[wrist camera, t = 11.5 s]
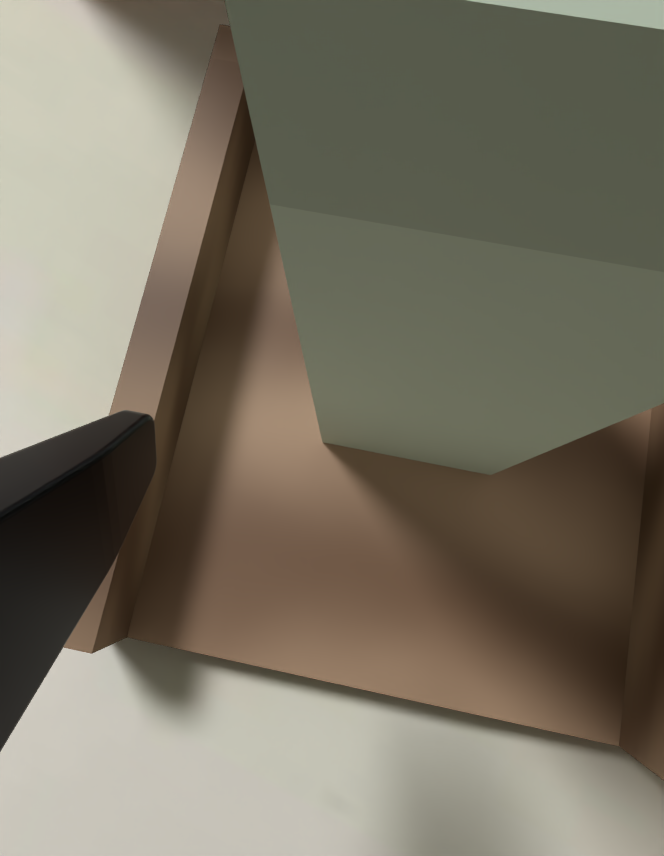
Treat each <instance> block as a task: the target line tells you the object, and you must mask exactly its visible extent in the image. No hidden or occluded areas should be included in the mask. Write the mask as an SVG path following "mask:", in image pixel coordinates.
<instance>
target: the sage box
mask: <svg viewBox="0 0 664 856" xmlns="http://www.w3.org/2000/svg"><path fill="white" fill-rule="evenodd" d="M225 5H226V9H227V14H228V18H229V23H230V27H231V32H232V36H233V41H234V45H235V50H236V54H237V59H238V63H239V68H240V73H241V77H242V82H243V86H244V91H245V95H246V100H247V104H248V109H249V113H250V118H251V122H252V127H253V131H254V136H255V140H256V145H257V149H258V154H259V158H260V163H261V167H262V172H263V176H264V181H265V185H266V190H267V194H268V199H269V204H270V208H271V213H272V217H273V222H274V226H275V231H276V235H277V240H278V244H279V249H280V253H281V258H282V262H283V267H284V271H285V276H286V280H287V285H288V289H289V294H290V298H291V303H292V307H293V312H294V316H295V321H296V325H297V330H298V334H299V339H300V344H301V348H302V353H303V357H304V362H305V366H306V371H307V375H308V380H309V384H310V389H311V393H312V398H313V402H314V407H315V411H316V416H317V420H318V425H319V429H320V434H321V438H322V442H324V443H329V444H334V445H339V446H344V447H349V448H355V449H360V450H365V451H370V452H375V453H380V454H385V455H390V456H395V457H401V458H406V459H411V460H416V461H421V462H426V463H431V464H436V465H441V466H446V467H452V468H457V469H462V470H467V471H472V472H477V473H482V474H487V475H492V474H495V473H497V472H499V471H502V470H504V469H507V468H509V467H511V466H514V465H516V464H519V463H521V462H524V461H526V460H528V459H531V458H533V457H536V456H538V455H540V454H543V453H545V452H548V451H550V450H552V449H555V448H557V447H560V446H562V445H564V444H567V443H569V442H572V441H574V440H576V439H579V438H581V437H584V436H586V435H588V434H591V433H593V432H596V431H598V430H600V429H603V428H605V427H608V426H610V425H612V424H615V423H617V422H620V421H622V420H624V419H627V418H629V417H632V416H634V415H636V414H639V413H641V412H644V411H646V410H649V409H651V408H653V407H656V406H658V405H661V404H663V403H664V0H225Z"/></svg>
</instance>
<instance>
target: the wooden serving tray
mask: <svg viewBox="0 0 664 856" xmlns="http://www.w3.org/2000/svg"><path fill="white" fill-rule="evenodd" d="M123 410H130V411H135V412H140V413H145V414H149V415H150V416H151V417H152V418H153V420H154V423H155V435H156V452H157V465H156V470H155V473H154V476H153V478H152V481H151V483H150V485H149V487H148V489H147V492H146V494H145V496H144V498H143V500H142V503H141V505H140V507H139V509H138V512H137V514H136V516H135V518H134V520H133V523H132V525H131V527H130V529H129V531H128V534H127V536H126V538H125V540H124V542H123V545H122V547H121V549H120V551H119V553H118V555H117V557H116V559H115V561H114V563H113V565H112V566H111V568H110V570H109V572H108V573H107V575H106V577H105V579H104V580H103V582H102V584H101V585H100V587H99V588H98V590H97V592H96V593H95V595H94V597H93V598H92V600H91V602H90V603H89V605H88V607H87V608H86V610H85V612H84V613H83V615H82V617H81V618H80V620H79V622H78V623H77V625H76V627H75V628H74V630H73V632H72V633H71V635H70V637H69V638H68V640H67V642H66V643H65V645H64V648H69V649H73V650H78V651H82V652H87V653H91V654H92V653H94V652H96V651H98V650H101V649H103V648H105V647H107V646H109V645H111V644H113V643H116V642H118V641H120V640H122V639H124V638H126V637H128V638H132V639H137V640H141V641H146V642H150V643H155V644H159V645H164V646H168V647H173V648H177V649H182V650H186V651H191V652H195V653H200V654H204V655H209V656H213V657H218V658H222V659H227V660H232V661H236V662H241V663H245V664H250V665H254V666H259V667H263V668H268V669H272V670H277V671H281V672H286V673H290V674H295V675H299V676H304V677H308V678H313V679H317V680H322V681H326V682H331V683H335V684H340V685H344V686H349V687H353V688H358V689H362V690H367V691H371V692H376V693H381V694H385V695H390V696H394V697H399V698H403V699H408V700H412V701H417V702H421V703H426V704H430V705H435V706H439V707H444V708H448V709H453V710H457V711H462V712H466V713H471V714H475V715H480V716H484V717H489V718H493V719H498V720H502V721H507V722H511V723H516V724H520V725H525V726H530V727H534V728H539V729H543V730H548V731H552V732H557V733H561V734H566V735H570V736H575V737H579V738H584V739H588V740H593V741H597V742H602V743H606V744H611V745H615V746H619V747H621V748H622V749H623V750H624V751H626V752H627V753H628V754H630V755H631V756H632V757H634V758H635V759H636V760H638V761H639V762H640V763H642V764H643V765H644V766H646V767H647V768H648V769H649V770H651V771H652V772H653V773H655V774H656V775H657V776H659V777H660V778H661V779H663V780H664V403H663V404H661V405H658V406H656V407H653V408H651V409H649V410H646V411H644V412H641V413H639V414H636V415H634V416H632V417H629V418H627V419H624V420H622V421H620V422H617V423H615V424H612V425H610V426H608V427H605V428H603V429H600V430H598V431H596V432H593V433H591V434H588V435H586V436H584V437H581V438H579V439H576V440H574V441H572V442H569V443H567V444H564V445H562V446H560V447H557V448H555V449H552V450H550V451H548V452H545V453H543V454H540V455H538V456H536V457H533V458H531V459H528V460H526V461H524V462H521V463H519V464H516V465H514V466H511V467H509V468H507V469H504V470H502V471H499V472H497V473H495V474H492V475H487V474H482V473H477V472H472V471H467V470H462V469H457V468H452V467H446V466H441V465H436V464H431V463H426V462H421V461H416V460H411V459H406V458H401V457H395V456H390V455H385V454H380V453H375V452H370V451H365V450H360V449H355V448H349V447H344V446H339V445H334V444H329V443H324V442H322V438H321V434H320V429H319V425H318V420H317V416H316V411H315V407H314V402H313V398H312V393H311V389H310V384H309V380H308V375H307V371H306V366H305V362H304V357H303V353H302V348H301V344H300V339H299V334H298V330H297V325H296V321H295V316H294V312H293V307H292V303H291V298H290V294H289V289H288V285H287V280H286V276H285V271H284V267H283V262H282V258H281V253H280V249H279V244H278V240H277V235H276V231H275V226H274V222H273V217H272V213H271V208H270V204H269V199H268V194H267V190H266V185H265V181H264V176H263V172H262V167H261V163H260V158H259V154H258V149H257V145H256V140H255V136H254V131H253V127H252V122H251V118H250V113H249V109H248V104H247V100H246V95H245V91H244V86H243V82H242V77H241V73H240V68H239V63H238V59H237V54H236V50H235V45H234V41H233V36H232V32H231V27H230V26H226V25H220V26H219V29H218V33H217V36H216V40H215V43H214V47H213V50H212V54H211V57H210V61H209V64H208V68H207V71H206V75H205V78H204V82H203V85H202V89H201V93H200V96H199V100H198V103H197V107H196V110H195V114H194V117H193V121H192V124H191V128H190V131H189V135H188V138H187V142H186V145H185V149H184V152H183V156H182V159H181V163H180V167H179V170H178V174H177V177H176V181H175V184H174V188H173V191H172V195H171V198H170V202H169V205H168V209H167V212H166V216H165V219H164V223H163V226H162V230H161V233H160V237H159V240H158V244H157V248H156V251H155V255H154V258H153V262H152V265H151V269H150V272H149V276H148V279H147V283H146V286H145V290H144V293H143V297H142V300H141V304H140V307H139V311H138V314H137V318H136V322H135V325H134V329H133V332H132V336H131V339H130V343H129V346H128V350H127V353H126V357H125V360H124V364H123V367H122V371H121V374H120V378H119V381H118V385H117V388H116V392H115V395H114V399H113V403H112V406H111V410H110V413H109V415H112V414H115V413H117V412H120V411H123Z"/></svg>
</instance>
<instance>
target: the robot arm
mask: <svg viewBox="0 0 664 856" xmlns="http://www.w3.org/2000/svg"><path fill="white" fill-rule="evenodd" d="M156 465H157V452H156V435H155V423H154V420H153V418H152V417H151V416H150V415H149V414H145V413H140V412H135V411H130V410H123V411H120V412H117V413H115V414H112V415H109V416H107V417H104V418H102V419H99V420H97V421H94V422H91V423H89V424H86V425H84V426H81V427H79V428H76V429H73V430H71V431H68V432H66V433H63V434H61V435H58V436H55V437H53V438H50V439H48V440H45V441H42V442H40V443H37V444H35V445H32V446H30V447H27V448H24V449H22V450H19V451H17V452H14V453H12V454H9V455H6V456H4V457H1V458H0V751H1V750H2V748H3V746H4V745H5V743H6V741H7V740H8V738H9V736H10V735H11V733H12V731H13V730H14V728H15V726H16V725H17V723H18V721H19V720H20V718H21V716H22V715H23V713H24V712H25V710H26V708H27V707H28V705H29V703H30V702H31V700H32V698H33V697H34V695H35V693H36V692H37V690H38V688H39V687H40V685H41V683H42V682H43V680H44V678H45V677H46V675H47V673H48V672H49V670H50V668H51V667H52V665H53V663H54V662H55V660H56V658H57V657H58V655H59V653H60V652H61V650H62V648H63V647H64V645H65V643H66V642H67V640H68V638H69V637H70V635H71V633H72V632H73V630H74V628H75V627H76V625H77V623H78V622H79V620H80V618H81V617H82V615H83V613H84V612H85V610H86V608H87V607H88V605H89V603H90V602H91V600H92V598H93V597H94V595H95V593H96V592H97V590H98V588H99V587H100V585H101V584H102V582H103V580H104V579H105V577H106V575H107V573H108V572H109V570H110V568H111V566H112V565H113V563H114V561H115V559H116V557H117V555H118V553H119V551H120V549H121V547H122V545H123V542H124V540H125V538H126V536H127V534H128V531H129V529H130V527H131V525H132V523H133V520H134V518H135V516H136V514H137V512H138V509H139V507H140V505H141V503H142V500H143V498H144V496H145V494H146V492H147V489H148V487H149V485H150V483H151V481H152V478H153V476H154V473H155V470H156Z"/></svg>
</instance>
